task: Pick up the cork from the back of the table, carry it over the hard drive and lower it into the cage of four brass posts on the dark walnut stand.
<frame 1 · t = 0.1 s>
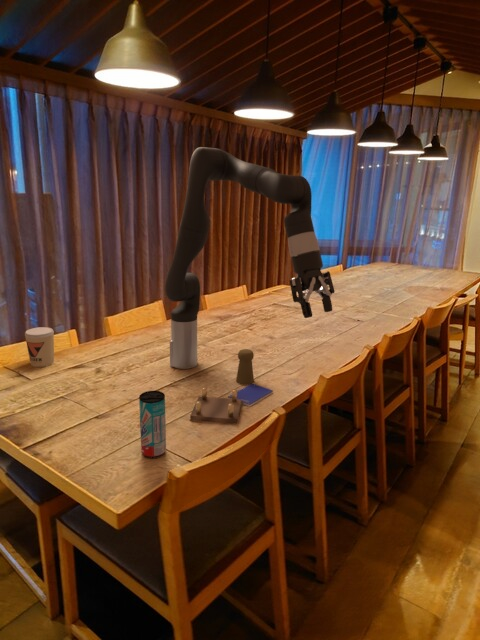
hand: (318, 314, 115), 31 cm above the table, tool tilted 20°, fingers open, 8 cm apart
coffee cup: (42, 363, 161), on the table
walnut stand: (216, 411, 130), on the table
beverage can: (153, 453, 109), on the table
cork: (244, 381, 151), on the table
hard drive: (250, 398, 140), on the table
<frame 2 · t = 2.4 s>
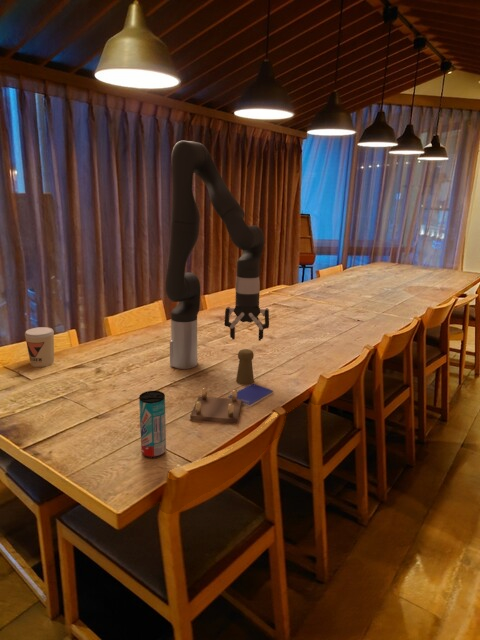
hand: (246, 339, 146), 15 cm above the table, tool pointing down, fingers open, 8 cm apart
nothing on the table moved.
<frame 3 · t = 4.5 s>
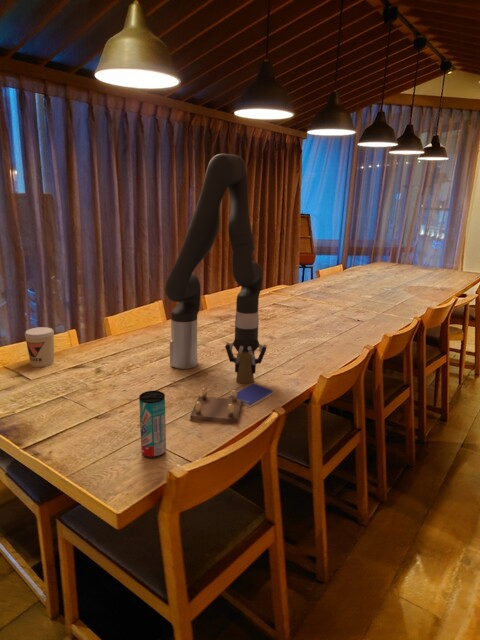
hand: (245, 373, 150), 3 cm above the table, tool pointing down, fingers closed on cork, 4 cm apart
cork: (244, 381, 151), on the table, touching gripper
everything else where it was.
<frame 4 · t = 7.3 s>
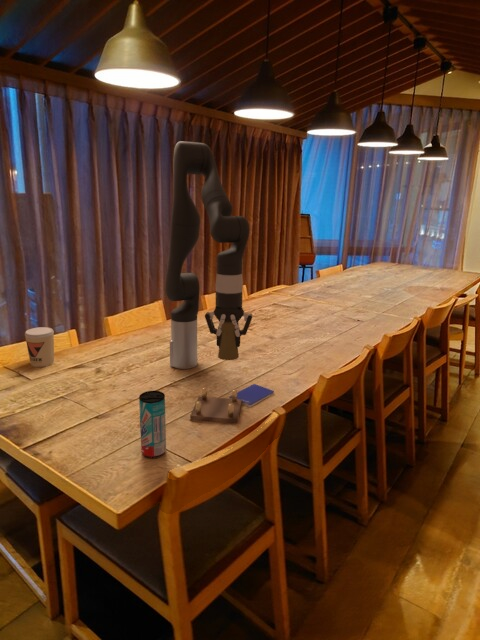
hand: (228, 347, 130), 18 cm above the table, tool pointing down, fingers closed on cork, 4 cm apart
cork: (228, 357, 131), point 15 cm above the table, touching gripper
everything else where it was.
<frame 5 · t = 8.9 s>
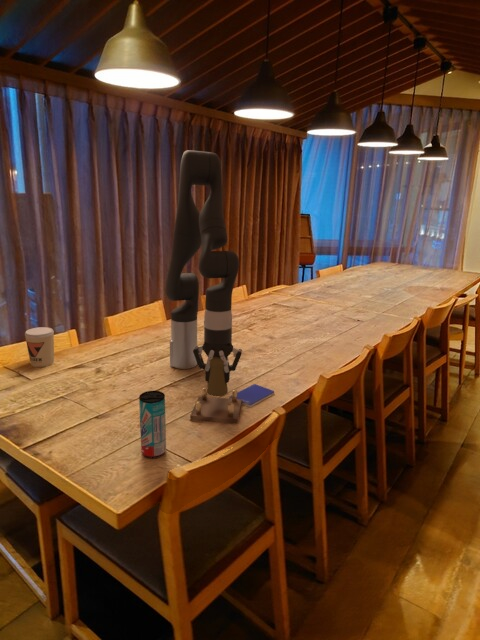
hand: (217, 382, 127), 9 cm above the table, tool pointing down, fingers closed on cork, 4 cm apart
cork: (217, 392, 128), point 6 cm above the table, touching gripper
everything else where it was.
when the fingers open (6 cm above the table, at t = 10.3 s): cork drops 1 cm, resting on walnut stand.
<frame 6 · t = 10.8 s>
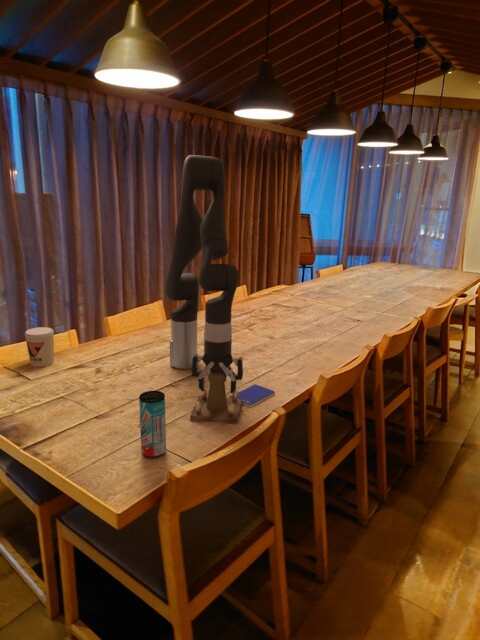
hand: (217, 391, 128), 7 cm above the table, tool pointing down, fingers open, 8 cm apart
cork: (216, 407, 129), point 1 cm above the table, touching walnut stand
everything else where it was.
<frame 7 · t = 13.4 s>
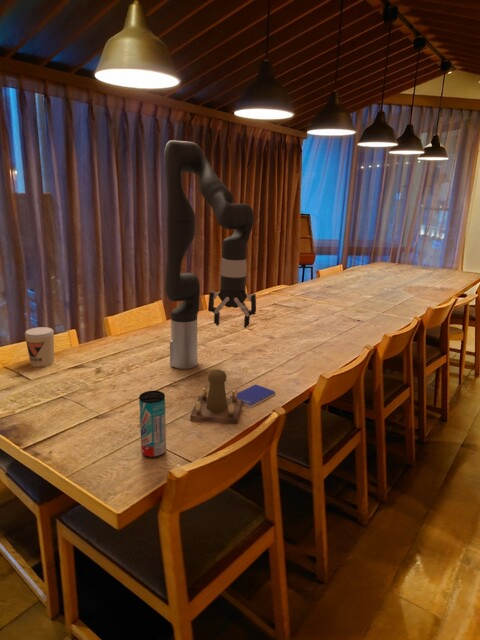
hand: (231, 326, 137), 22 cm above the table, tool pointing down, fingers open, 8 cm apart
nothing on the table moved.
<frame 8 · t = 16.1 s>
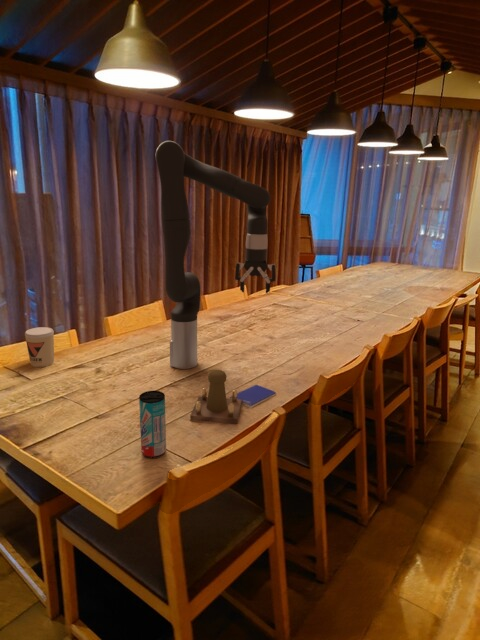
hand: (254, 292, 161), 26 cm above the table, tool pointing down, fingers open, 8 cm apart
at the end: cork 0.1 cm off-centre on the walnut stand, point 1.3 cm above the walnut stand's base; cork tilted 0°; the gripper is holding nothing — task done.
